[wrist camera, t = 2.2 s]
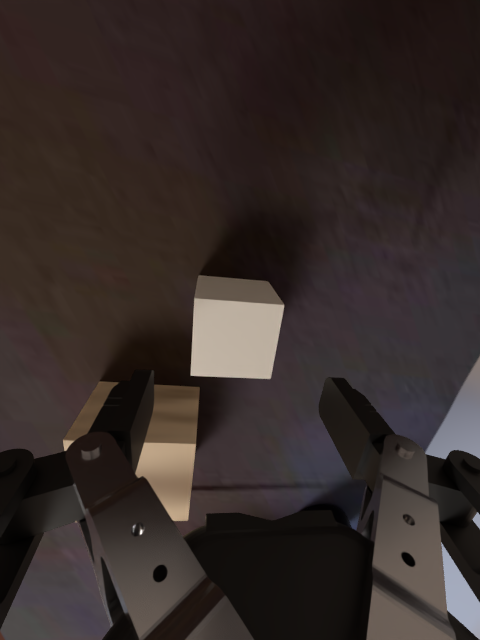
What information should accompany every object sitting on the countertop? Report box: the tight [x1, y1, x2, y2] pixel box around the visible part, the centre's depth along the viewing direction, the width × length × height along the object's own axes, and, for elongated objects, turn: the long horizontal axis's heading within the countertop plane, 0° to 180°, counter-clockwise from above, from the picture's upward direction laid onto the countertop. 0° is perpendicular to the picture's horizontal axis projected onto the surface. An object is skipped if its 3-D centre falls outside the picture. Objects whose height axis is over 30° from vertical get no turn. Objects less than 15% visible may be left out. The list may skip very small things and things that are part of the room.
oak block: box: [63, 381, 200, 522], centre depth 21 cm, size 8×8×6 cm
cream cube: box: [191, 275, 284, 379], centre depth 18 cm, size 5×5×5 cm
